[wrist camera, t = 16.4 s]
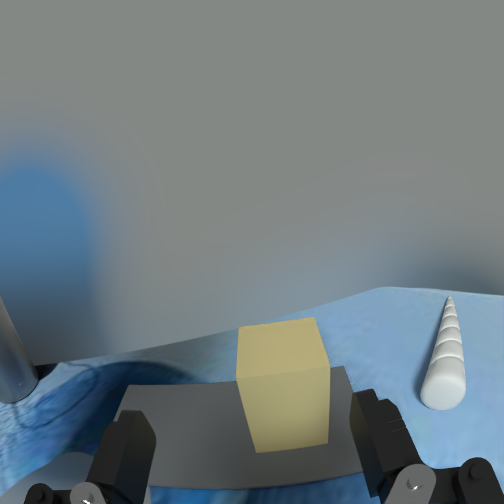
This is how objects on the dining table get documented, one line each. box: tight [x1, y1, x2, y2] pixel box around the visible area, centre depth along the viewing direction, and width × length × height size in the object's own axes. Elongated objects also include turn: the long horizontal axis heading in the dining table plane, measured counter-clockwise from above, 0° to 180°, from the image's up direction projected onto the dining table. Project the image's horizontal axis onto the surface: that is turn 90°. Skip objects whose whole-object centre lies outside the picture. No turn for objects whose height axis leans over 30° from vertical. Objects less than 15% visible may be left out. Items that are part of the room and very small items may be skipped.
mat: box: [114, 366, 363, 490], centre depth 26 cm, size 26×14×1 cm, turn 90°
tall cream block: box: [236, 317, 330, 453], centre depth 24 cm, size 6×6×10 cm
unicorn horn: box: [420, 296, 466, 411], centre depth 30 cm, size 5×24×5 cm, turn 142°
